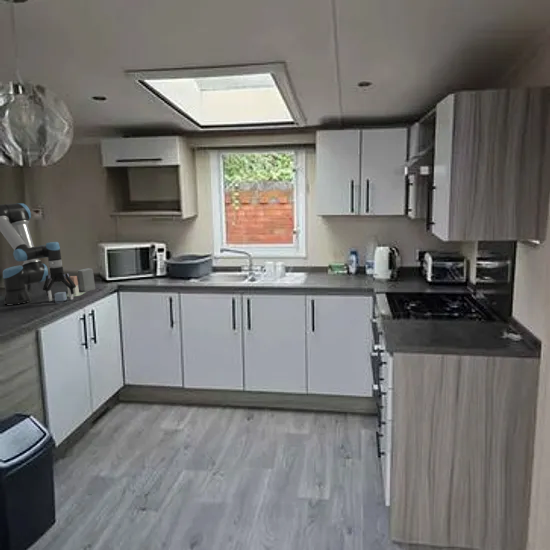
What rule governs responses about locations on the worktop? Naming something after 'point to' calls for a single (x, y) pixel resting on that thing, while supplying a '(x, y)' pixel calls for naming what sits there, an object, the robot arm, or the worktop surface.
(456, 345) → the worktop surface
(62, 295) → the brick
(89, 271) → the skincare box
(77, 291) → the brick
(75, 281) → the brick
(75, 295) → the baseplate
